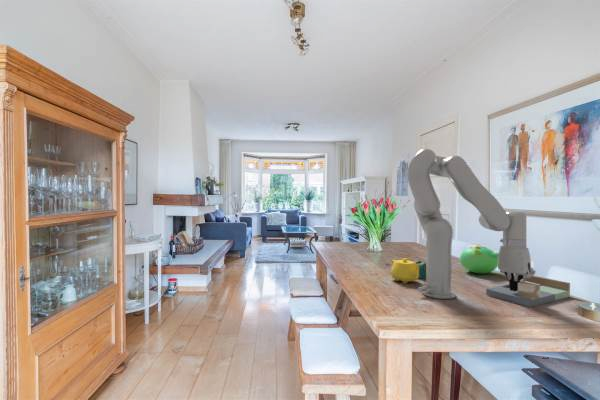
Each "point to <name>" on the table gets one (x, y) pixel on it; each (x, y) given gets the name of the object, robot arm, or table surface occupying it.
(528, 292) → the block
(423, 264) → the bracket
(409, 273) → the teapot
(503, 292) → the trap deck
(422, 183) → the robot arm
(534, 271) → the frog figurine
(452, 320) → the table surface
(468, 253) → the green rounded piece
